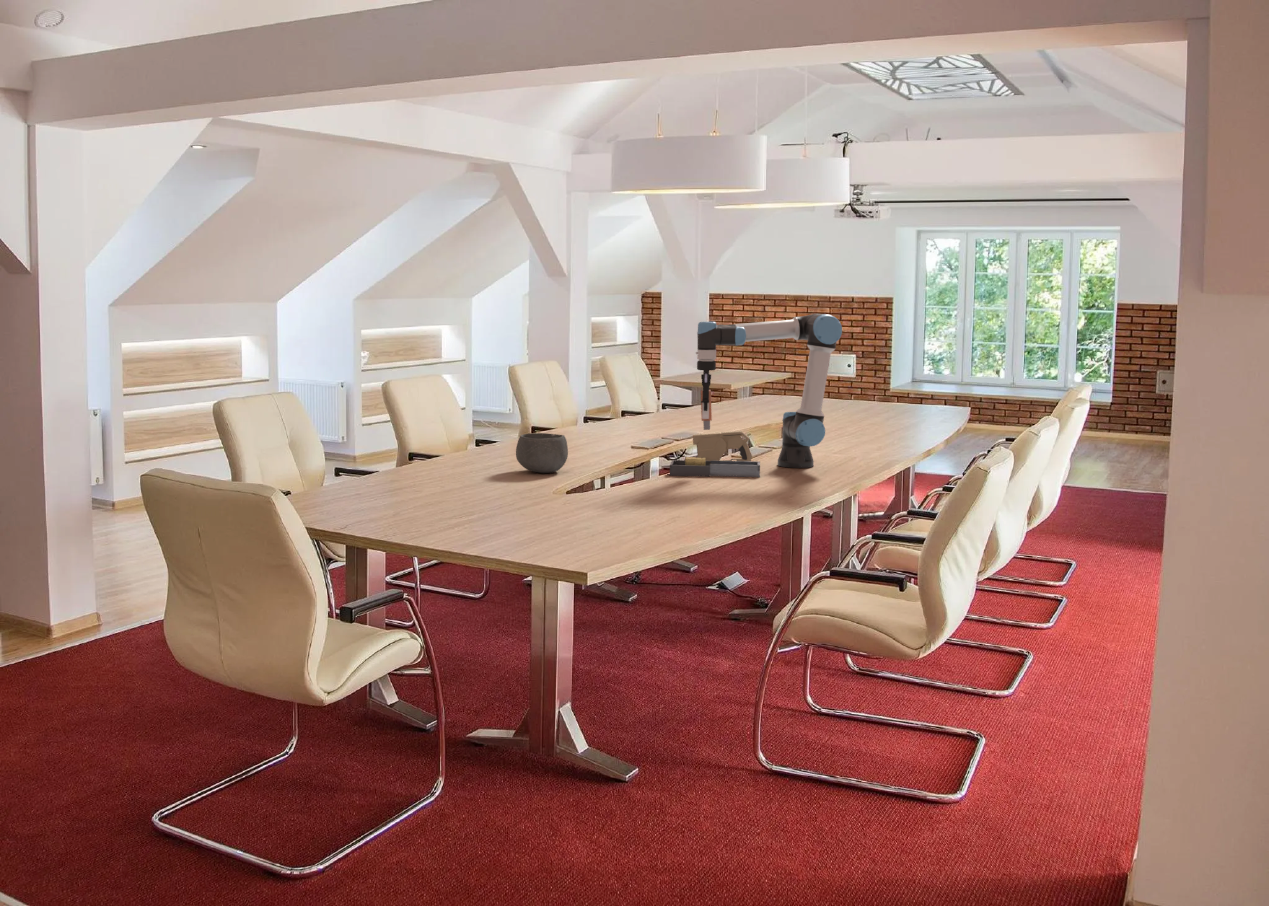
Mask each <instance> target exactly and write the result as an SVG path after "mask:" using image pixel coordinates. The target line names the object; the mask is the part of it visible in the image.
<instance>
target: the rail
mask: <svg viewBox="0 0 1269 906" xmlns="http://www.w3.org/2000/svg"><path fill="white" fill-rule="evenodd" d="M710 477H737V478H739V477H740V478H741V477H742V478H743V477H745V478H760V477H761V461H758V460H757V461H752V460H751V461H737V460H732V461H717V460H711V464H710Z"/></svg>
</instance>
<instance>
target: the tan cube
mask: <svg viewBox="0 0 1269 906" xmlns="http://www.w3.org/2000/svg"><path fill="white" fill-rule="evenodd" d="M705 463H706V458H698V457H696V458H695V466H705Z"/></svg>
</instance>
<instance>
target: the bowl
mask: <svg viewBox="0 0 1269 906" xmlns="http://www.w3.org/2000/svg"><path fill="white" fill-rule="evenodd" d="M515 457H516V461H517V462H518V464H519V465H521V466H522V467H523V468H524V469H526V470H527V471H530V472H533V473H538V474H552V473H555V472H557V471H560V470H561V469H562V468H563V467H564V466H565V464H566V462H567V460H568V457H569V449H568V441H567V438H566V436H565V435H564V434H556V433H555V434H554V433H545V432H544V433H541V432H534V433H524V434H520V436H519V437H518V440H517V443H516V448H515Z"/></svg>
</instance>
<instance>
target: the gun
mask: <svg viewBox="0 0 1269 906" xmlns="http://www.w3.org/2000/svg"><path fill="white" fill-rule="evenodd" d="M742 437H743V438H744V439H743V438H742ZM749 441H750V437H749V436H748V435H747V434H746V433H744V431H742V430H737V431H736V430H735V431H721V432H715V433H698V434H692V444H693V446H694V445H695V446H696V454H697V458H706V461H711V460H717V461H752V459H753V454H752V452H751V450H750V446H749V445H748V442H749ZM737 449H738V452H740V453H739V455H740V456H741V457H740V458H731V459H722V457H723V456H724V455H725V454H726V452H727V450H734V453H736V452H737Z"/></svg>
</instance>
